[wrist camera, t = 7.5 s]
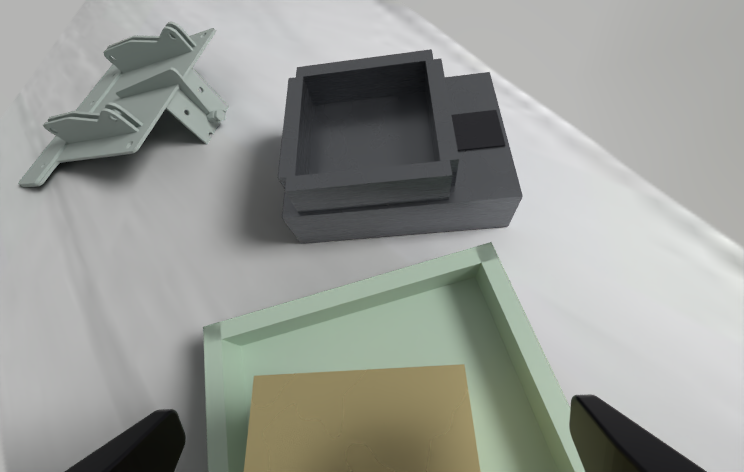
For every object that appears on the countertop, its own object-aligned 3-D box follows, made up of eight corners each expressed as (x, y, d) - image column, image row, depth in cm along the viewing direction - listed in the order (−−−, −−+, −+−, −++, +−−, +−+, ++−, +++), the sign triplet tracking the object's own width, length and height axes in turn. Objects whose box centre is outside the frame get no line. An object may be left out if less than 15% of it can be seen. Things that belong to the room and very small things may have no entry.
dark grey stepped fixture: (507, 226, 19) (535, 170, 14) (300, 243, 20) (266, 196, 15) (481, 111, 22) (496, 38, 18) (308, 131, 24) (282, 67, 19)
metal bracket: (216, -21, 23) (88, 157, 17) (270, 56, 28) (184, 217, 22) (102, 29, 30) (-20, 171, 24) (161, 85, 34) (72, 214, 28)
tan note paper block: (455, 516, 13) (512, 687, 5) (338, 518, 14) (221, 679, 6) (440, 386, 15) (464, 364, 7) (339, 391, 16) (254, 375, 8)
